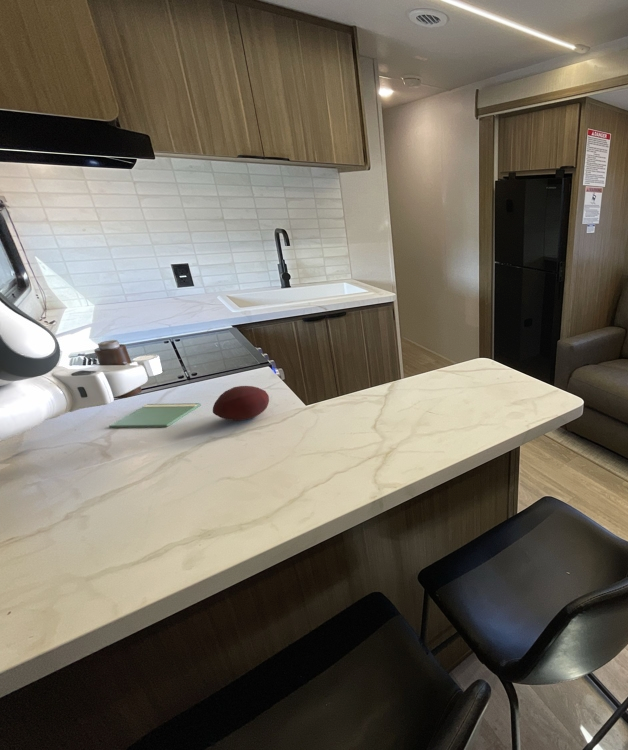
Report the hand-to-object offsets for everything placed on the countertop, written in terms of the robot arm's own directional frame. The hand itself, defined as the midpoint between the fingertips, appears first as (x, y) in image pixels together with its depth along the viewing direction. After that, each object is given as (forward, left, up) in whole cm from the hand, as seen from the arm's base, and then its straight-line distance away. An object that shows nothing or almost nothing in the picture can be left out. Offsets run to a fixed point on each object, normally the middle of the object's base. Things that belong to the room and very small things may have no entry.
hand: (120, 365), depth 89 cm
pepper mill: (0, -1, -7) cm, 7 cm away
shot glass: (-26, +34, -17) cm, 46 cm away
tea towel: (-4, +8, -17) cm, 19 cm away
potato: (+20, +6, -17) cm, 27 cm away
